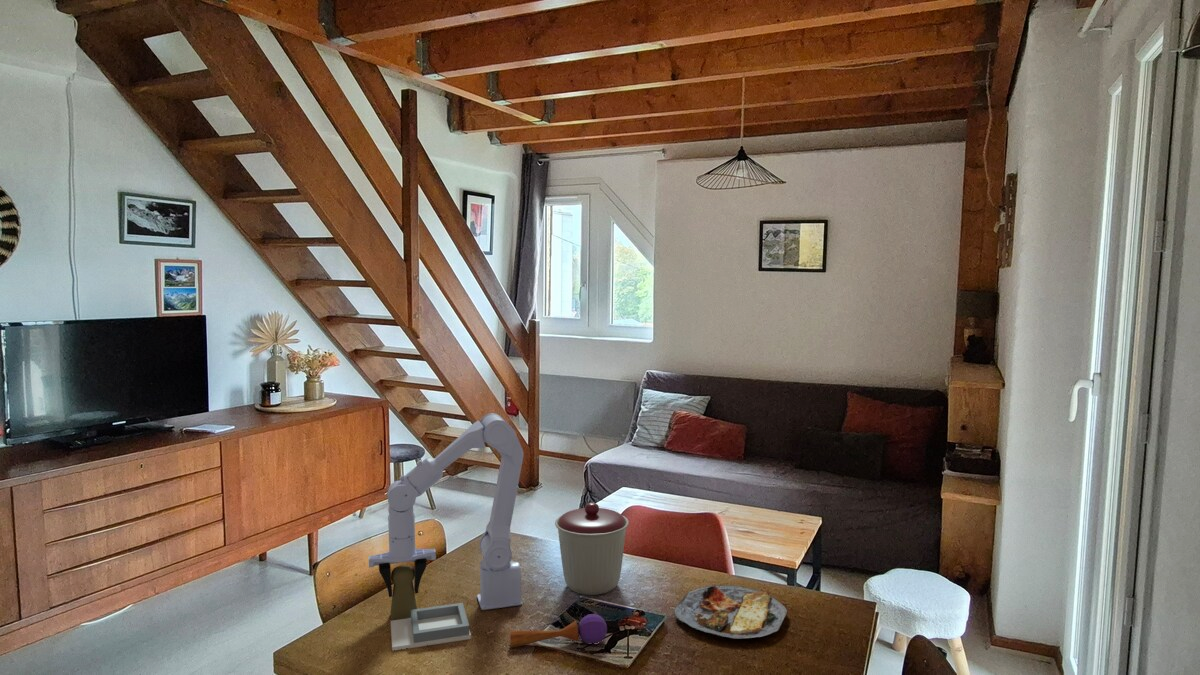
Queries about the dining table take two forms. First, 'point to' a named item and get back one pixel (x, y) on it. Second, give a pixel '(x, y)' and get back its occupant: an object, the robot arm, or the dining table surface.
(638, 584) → the dining table surface
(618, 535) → the canister
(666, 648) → the dining table surface
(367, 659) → the dining table surface
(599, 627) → the kendama
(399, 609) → the olive knobbed tapered peg
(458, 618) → the socket board
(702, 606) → the food plate
